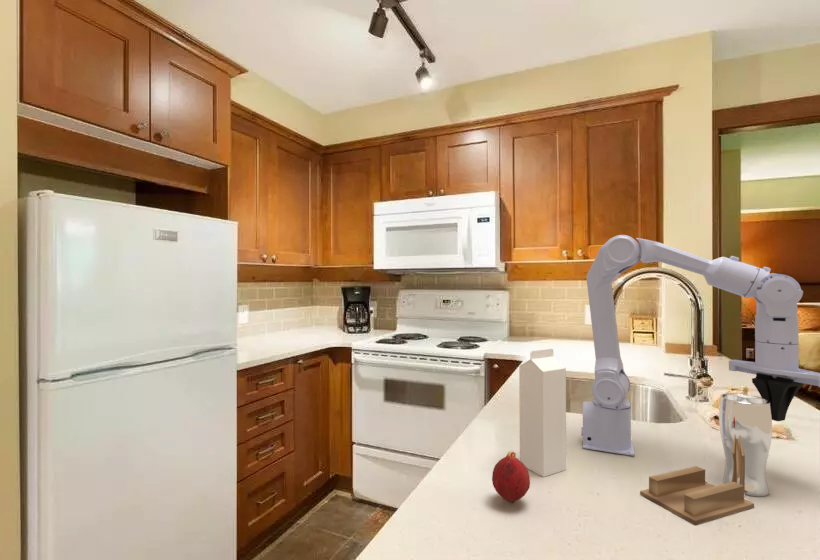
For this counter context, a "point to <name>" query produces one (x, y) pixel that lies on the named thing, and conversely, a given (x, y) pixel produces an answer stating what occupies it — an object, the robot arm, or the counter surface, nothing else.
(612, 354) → the robot arm
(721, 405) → the beer glass
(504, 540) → the counter surface
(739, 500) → the cradle
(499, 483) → the red oval fruit
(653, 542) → the counter surface
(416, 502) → the counter surface
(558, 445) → the milk
